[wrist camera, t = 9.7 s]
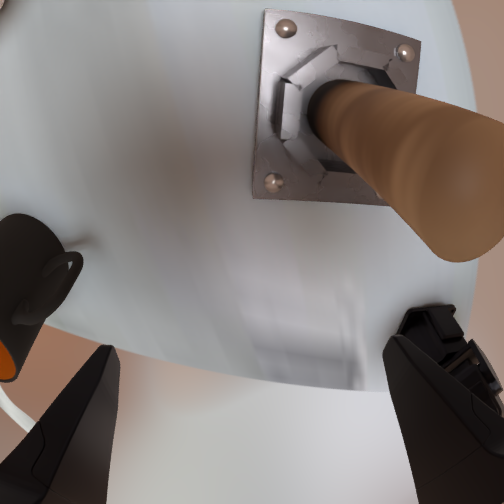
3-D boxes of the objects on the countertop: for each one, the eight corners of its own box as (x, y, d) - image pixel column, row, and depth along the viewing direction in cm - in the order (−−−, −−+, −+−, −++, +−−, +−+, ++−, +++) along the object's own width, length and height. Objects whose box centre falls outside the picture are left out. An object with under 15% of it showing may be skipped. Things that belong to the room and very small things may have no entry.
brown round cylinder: (362, 155, 19) (489, 270, 9) (298, 138, 18) (394, 250, 8) (382, 92, 17) (541, 153, 6) (317, 70, 16) (455, 91, 5)
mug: (120, 280, 24) (82, 385, 16) (22, 299, 25) (-23, 380, 16) (79, 187, 20) (0, 274, 11) (-18, 227, 20) (-85, 300, 12)
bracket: (387, 200, 22) (409, 222, 19) (252, 192, 21) (255, 216, 18) (413, 41, 16) (443, 41, 13) (263, 11, 15) (271, -1, 12)
